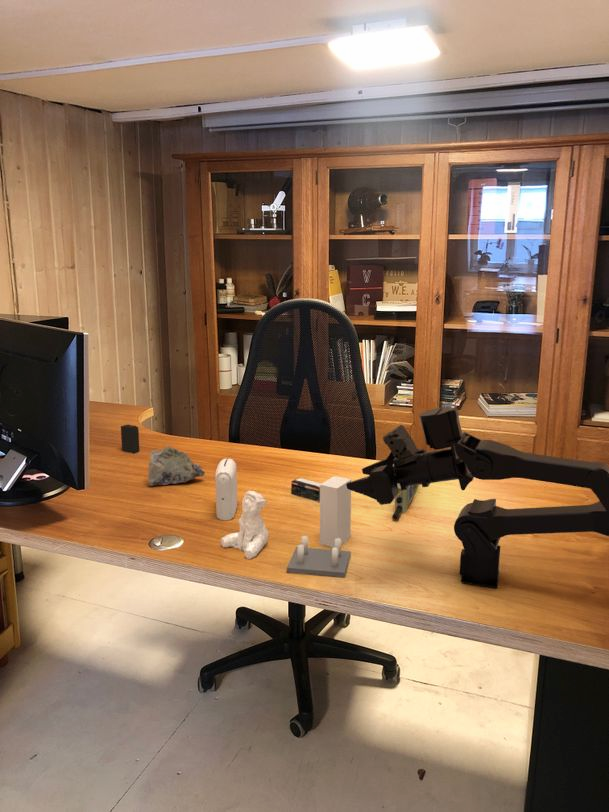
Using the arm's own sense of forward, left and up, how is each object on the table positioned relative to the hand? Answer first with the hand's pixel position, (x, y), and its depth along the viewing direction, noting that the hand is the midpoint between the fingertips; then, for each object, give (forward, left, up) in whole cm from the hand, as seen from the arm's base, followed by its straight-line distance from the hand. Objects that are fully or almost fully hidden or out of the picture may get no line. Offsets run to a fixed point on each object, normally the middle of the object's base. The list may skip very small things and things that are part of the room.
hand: (355, 478), depth 130 cm
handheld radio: (-5, -31, -17) cm, 35 cm away
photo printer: (+33, -12, -16) cm, 39 cm away
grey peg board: (+5, +6, -16) cm, 18 cm away
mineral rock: (+54, -25, -16) cm, 62 cm away
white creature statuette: (+21, +3, -16) cm, 27 cm away
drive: (+5, -5, -16) cm, 18 cm away
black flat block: (+17, -28, -17) cm, 37 cm away
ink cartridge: (+80, -45, -16) cm, 93 cm away
